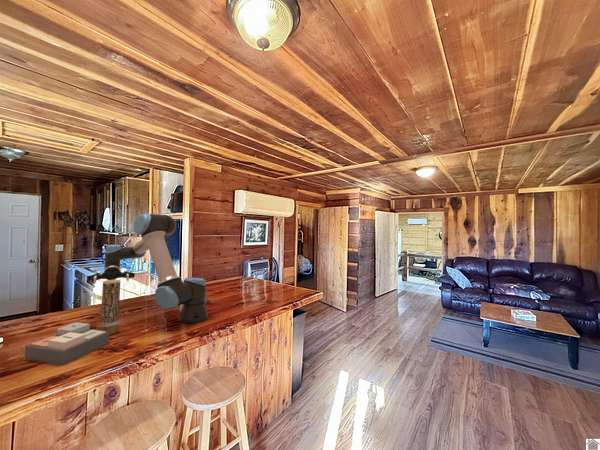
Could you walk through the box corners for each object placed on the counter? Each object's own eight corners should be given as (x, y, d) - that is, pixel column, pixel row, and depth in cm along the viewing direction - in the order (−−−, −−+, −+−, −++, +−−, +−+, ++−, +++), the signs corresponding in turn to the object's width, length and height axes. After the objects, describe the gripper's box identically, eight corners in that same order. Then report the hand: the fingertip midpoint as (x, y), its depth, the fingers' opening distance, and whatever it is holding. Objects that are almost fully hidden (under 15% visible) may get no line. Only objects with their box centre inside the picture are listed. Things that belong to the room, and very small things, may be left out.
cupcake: (201, 305, 164) (201, 287, 164) (193, 302, 168) (194, 285, 168) (211, 302, 171) (212, 285, 171) (204, 300, 175) (204, 283, 176)
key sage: (105, 338, 107) (105, 331, 107) (87, 346, 99) (88, 338, 99) (91, 336, 108) (91, 329, 108) (72, 344, 101) (73, 336, 101)
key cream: (85, 341, 98) (85, 334, 98) (63, 350, 91) (64, 342, 91) (70, 339, 100) (70, 332, 100) (48, 348, 92) (48, 340, 92)
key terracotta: (67, 345, 100) (67, 337, 100) (45, 354, 92) (45, 346, 92) (52, 342, 101) (53, 335, 101) (29, 351, 94) (30, 343, 94)
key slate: (89, 330, 108) (89, 323, 108) (70, 338, 101) (71, 330, 101) (75, 328, 110) (76, 322, 110) (56, 335, 102) (56, 328, 102)
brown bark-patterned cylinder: (108, 336, 114) (110, 283, 114) (96, 334, 115) (99, 281, 116) (121, 330, 120) (124, 280, 121) (110, 329, 122) (112, 279, 122)
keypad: (108, 343, 107) (109, 331, 108) (62, 365, 90) (63, 351, 90) (75, 338, 111) (76, 327, 111) (24, 358, 93) (25, 345, 93)
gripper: (137, 277, 150) (140, 284, 133) (83, 281, 135) (79, 289, 118) (137, 265, 150) (140, 270, 133) (84, 267, 135) (79, 274, 118)
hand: (111, 279), depth 126 cm, fingers open, 13 cm apart
